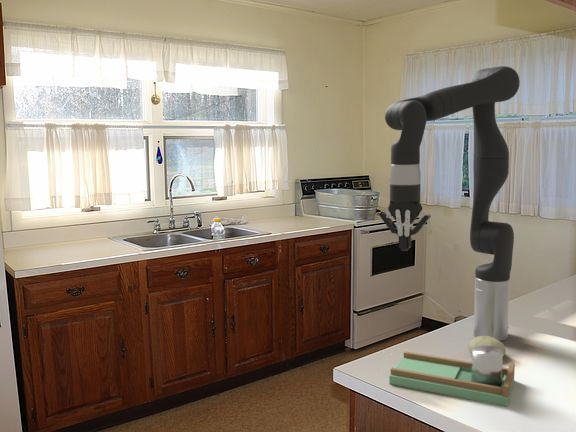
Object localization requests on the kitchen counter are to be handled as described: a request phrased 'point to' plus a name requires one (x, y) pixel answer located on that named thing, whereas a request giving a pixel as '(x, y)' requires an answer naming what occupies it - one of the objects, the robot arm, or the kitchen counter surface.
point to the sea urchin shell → (486, 343)
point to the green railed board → (449, 378)
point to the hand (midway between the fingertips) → (404, 250)
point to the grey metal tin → (487, 365)
